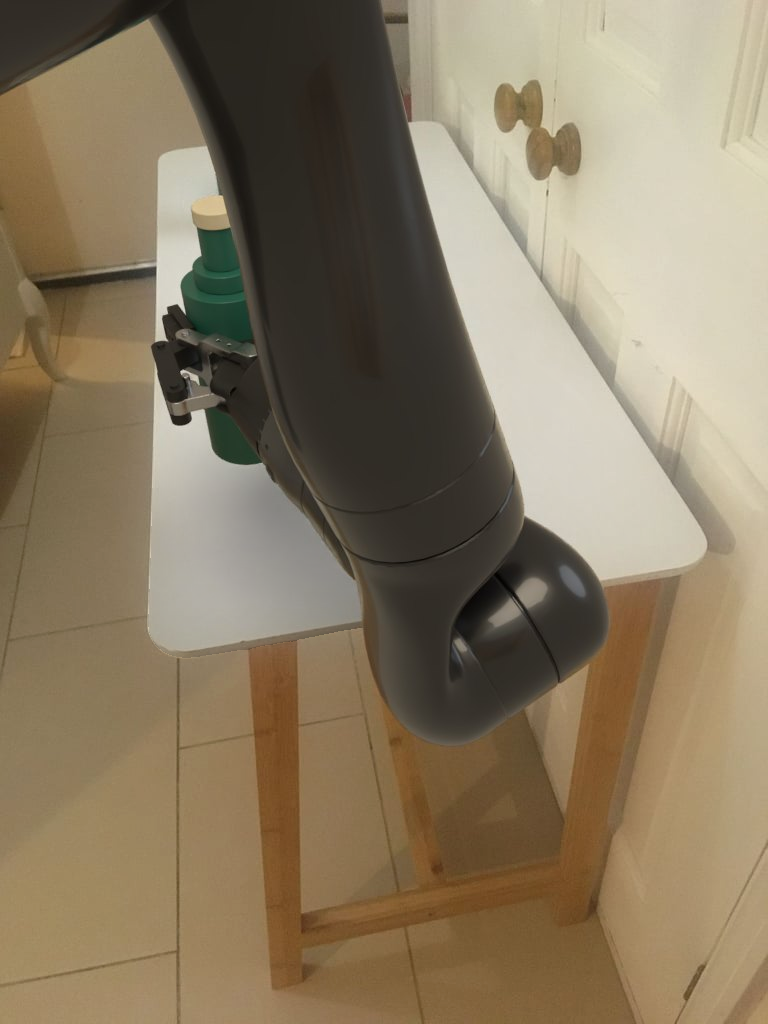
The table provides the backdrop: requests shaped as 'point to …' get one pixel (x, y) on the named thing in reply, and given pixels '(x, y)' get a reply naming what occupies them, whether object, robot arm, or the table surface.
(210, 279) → the green bottle
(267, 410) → the robot arm
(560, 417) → the table surface
